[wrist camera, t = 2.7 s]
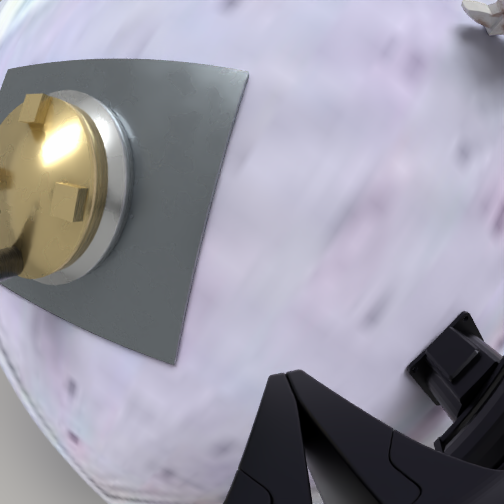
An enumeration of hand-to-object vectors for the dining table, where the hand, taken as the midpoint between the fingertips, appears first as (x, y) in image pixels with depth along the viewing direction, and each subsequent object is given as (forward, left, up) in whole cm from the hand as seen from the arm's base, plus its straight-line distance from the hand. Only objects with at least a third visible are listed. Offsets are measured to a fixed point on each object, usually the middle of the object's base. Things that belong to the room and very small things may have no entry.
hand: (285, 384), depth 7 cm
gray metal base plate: (+16, +7, -11) cm, 21 cm away
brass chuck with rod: (+16, +7, -9) cm, 19 cm away
